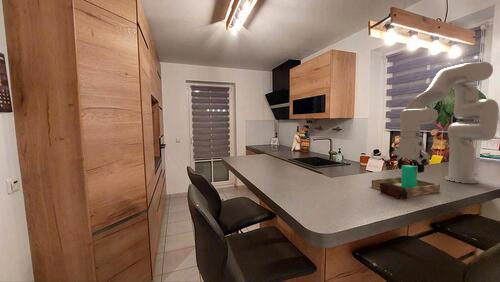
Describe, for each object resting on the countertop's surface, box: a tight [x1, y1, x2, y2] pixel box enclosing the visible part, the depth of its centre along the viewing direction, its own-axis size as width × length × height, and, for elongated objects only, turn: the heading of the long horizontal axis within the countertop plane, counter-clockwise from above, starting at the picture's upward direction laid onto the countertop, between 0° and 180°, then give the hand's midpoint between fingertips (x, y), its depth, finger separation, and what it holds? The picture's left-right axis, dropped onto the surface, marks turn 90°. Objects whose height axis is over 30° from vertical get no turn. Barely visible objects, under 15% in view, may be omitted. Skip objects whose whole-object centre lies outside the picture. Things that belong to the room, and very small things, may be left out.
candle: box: [400, 162, 418, 188], centre depth 101 cm, size 6×6×12 cm
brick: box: [379, 182, 409, 200], centre depth 92 cm, size 11×4×5 cm, turn 12°
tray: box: [371, 176, 441, 198], centre depth 101 cm, size 21×17×3 cm
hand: (410, 170), depth 101 cm, fingers open, 9 cm apart
